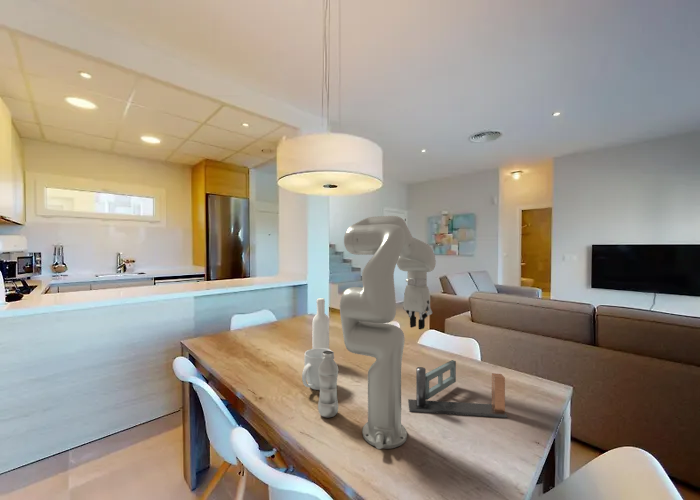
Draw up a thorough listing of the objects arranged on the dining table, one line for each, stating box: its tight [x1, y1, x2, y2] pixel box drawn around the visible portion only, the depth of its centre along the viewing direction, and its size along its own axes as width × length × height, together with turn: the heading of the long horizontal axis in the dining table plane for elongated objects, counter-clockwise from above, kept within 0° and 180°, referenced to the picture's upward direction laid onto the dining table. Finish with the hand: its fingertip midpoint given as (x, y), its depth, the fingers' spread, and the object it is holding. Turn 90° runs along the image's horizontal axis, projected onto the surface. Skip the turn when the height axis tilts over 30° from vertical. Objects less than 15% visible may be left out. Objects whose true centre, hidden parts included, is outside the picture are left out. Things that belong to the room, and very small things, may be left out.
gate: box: [426, 359, 457, 401], centre depth 107 cm, size 20×2×8 cm, turn 133°
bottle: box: [311, 297, 330, 349], centre depth 138 cm, size 8×8×30 cm
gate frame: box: [407, 366, 508, 419], centre depth 98 cm, size 6×30×13 cm, turn 83°
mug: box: [301, 348, 332, 391], centre depth 113 cm, size 15×11×13 cm
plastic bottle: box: [317, 350, 339, 418], centre depth 95 cm, size 6×7×20 cm
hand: (417, 327), depth 120 cm, fingers open, 3 cm apart
